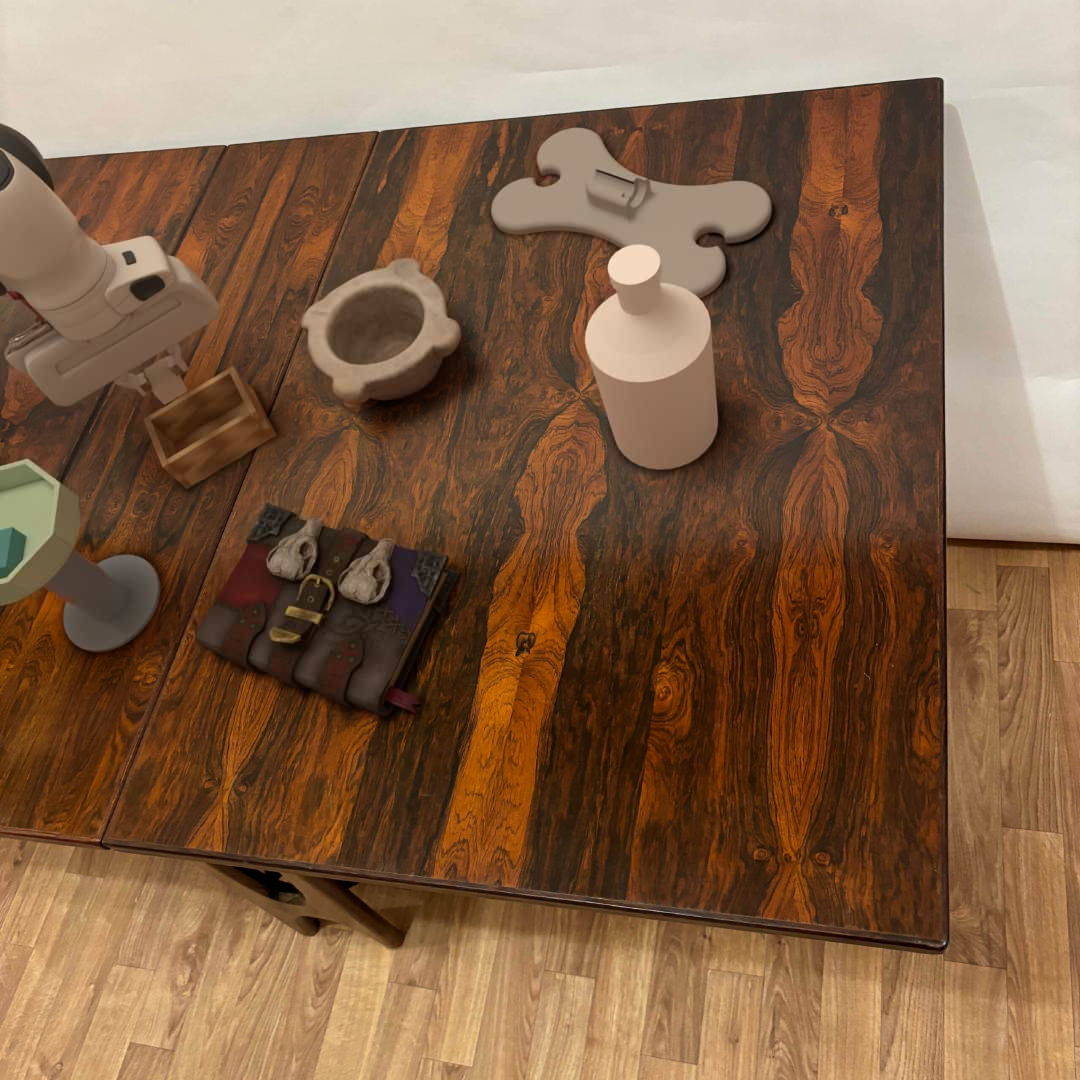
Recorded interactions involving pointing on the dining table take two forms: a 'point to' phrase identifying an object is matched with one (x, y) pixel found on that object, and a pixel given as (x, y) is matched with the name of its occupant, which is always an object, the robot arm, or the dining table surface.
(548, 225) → the grey flat lobed piece
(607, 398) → the bottle
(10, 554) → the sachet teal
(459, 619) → the dining table surface
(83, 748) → the dining table surface
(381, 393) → the mortar
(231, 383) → the wood holder
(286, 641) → the book
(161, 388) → the beige block
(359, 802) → the dining table surface
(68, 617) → the goblet
